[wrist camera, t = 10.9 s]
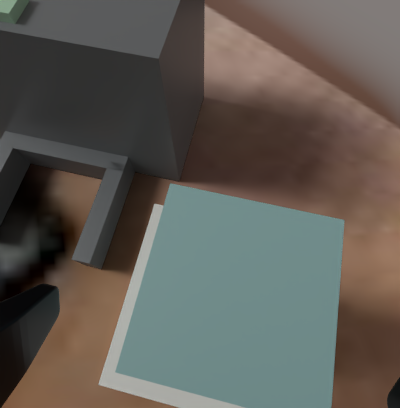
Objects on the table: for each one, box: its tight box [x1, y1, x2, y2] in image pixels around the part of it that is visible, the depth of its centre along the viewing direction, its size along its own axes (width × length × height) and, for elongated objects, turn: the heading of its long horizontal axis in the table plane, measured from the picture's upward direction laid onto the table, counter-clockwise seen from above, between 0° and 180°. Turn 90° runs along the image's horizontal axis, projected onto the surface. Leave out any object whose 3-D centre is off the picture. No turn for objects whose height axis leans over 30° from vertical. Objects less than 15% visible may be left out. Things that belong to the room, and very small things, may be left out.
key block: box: [115, 183, 344, 408], centre depth 11 cm, size 4×4×11 cm
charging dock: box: [0, 0, 204, 269], centre depth 16 cm, size 14×14×10 cm
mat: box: [99, 204, 245, 408], centre depth 17 cm, size 10×10×1 cm
